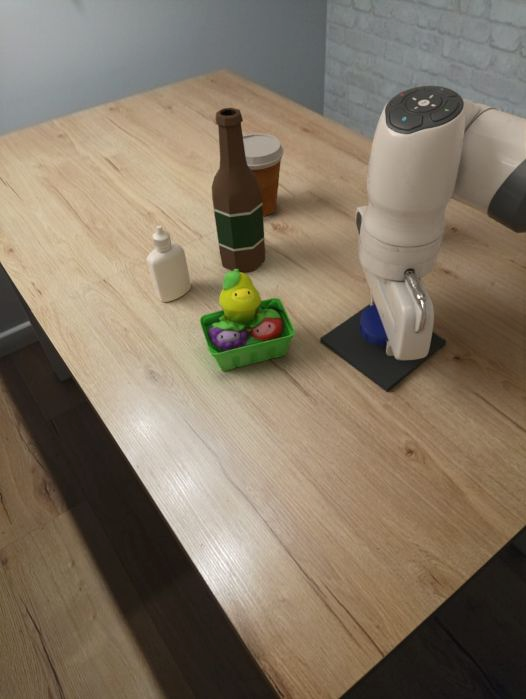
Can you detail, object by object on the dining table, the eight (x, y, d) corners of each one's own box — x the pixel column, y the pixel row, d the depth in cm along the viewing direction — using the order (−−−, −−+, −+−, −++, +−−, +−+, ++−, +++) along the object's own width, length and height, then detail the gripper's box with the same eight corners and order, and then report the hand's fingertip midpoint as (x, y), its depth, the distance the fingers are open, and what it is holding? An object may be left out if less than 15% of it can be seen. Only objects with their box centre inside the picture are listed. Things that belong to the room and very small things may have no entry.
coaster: (377, 301, 76) (378, 297, 76) (445, 344, 70) (446, 340, 69) (319, 342, 71) (320, 338, 71) (387, 392, 65) (388, 388, 64)
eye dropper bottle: (155, 286, 81) (137, 221, 73) (190, 280, 82) (177, 215, 73) (156, 304, 78) (138, 239, 70) (193, 298, 79) (180, 232, 70)
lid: (350, 332, 69) (351, 323, 67) (375, 305, 71) (376, 296, 70) (391, 353, 66) (393, 345, 64) (416, 325, 69) (418, 316, 67)
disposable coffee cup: (255, 228, 91) (250, 164, 82) (223, 207, 96) (215, 144, 87) (295, 207, 95) (295, 144, 86) (262, 188, 100) (259, 126, 91)
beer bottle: (213, 271, 83) (190, 123, 66) (226, 243, 88) (209, 98, 71) (260, 277, 82) (249, 126, 64) (271, 247, 87) (264, 100, 69)
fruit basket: (215, 381, 68) (203, 319, 59) (201, 335, 73) (189, 273, 65) (297, 360, 69) (297, 297, 61) (277, 317, 75) (275, 254, 67)
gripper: (458, 303, 52) (432, 388, 62) (401, 196, 66) (387, 280, 76) (396, 309, 52) (380, 394, 62) (352, 200, 65) (345, 284, 76)
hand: (384, 330), depth 69 cm, fingers closed on lid, 6 cm apart
